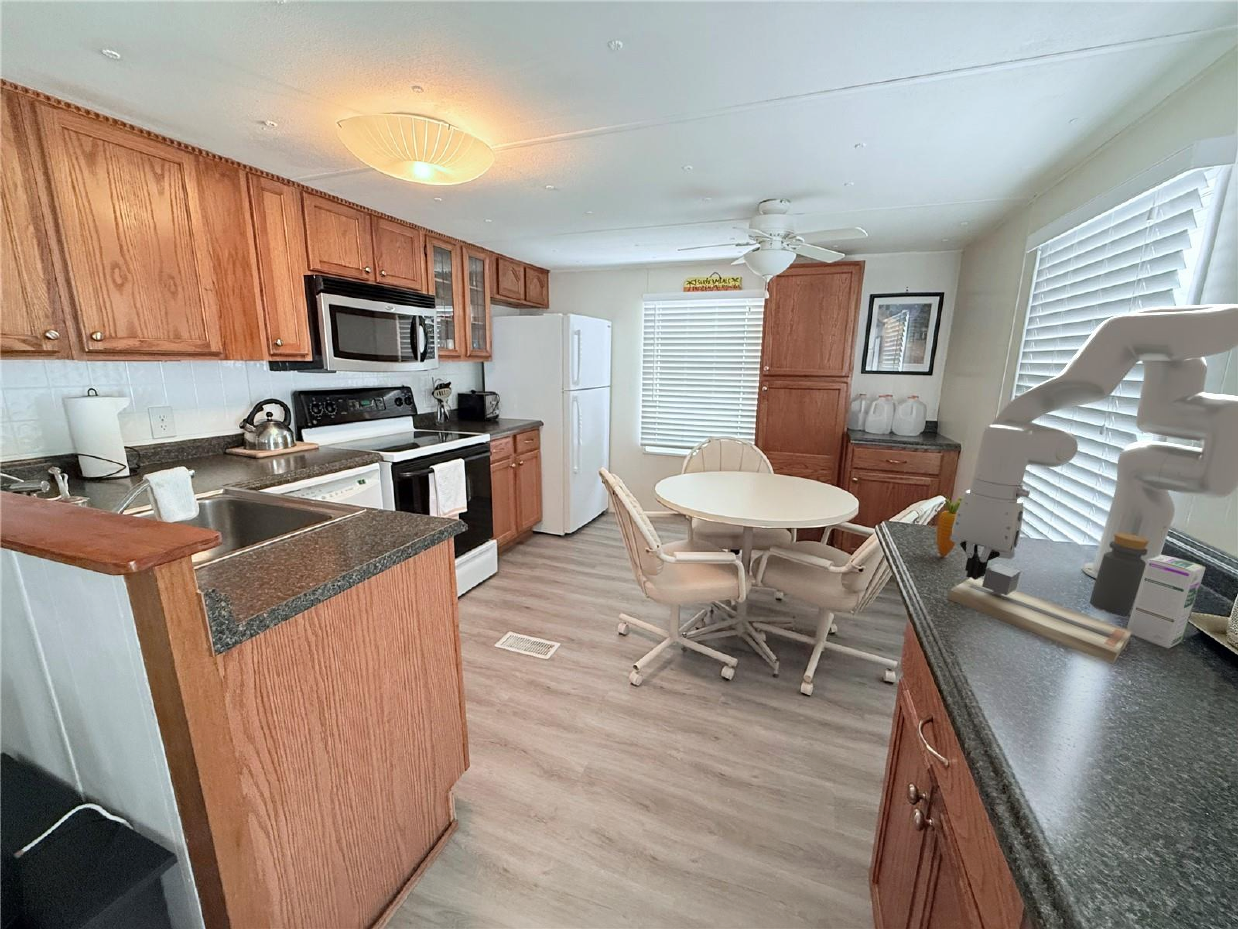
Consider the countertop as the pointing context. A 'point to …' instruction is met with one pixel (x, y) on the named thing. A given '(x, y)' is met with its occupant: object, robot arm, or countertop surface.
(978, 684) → the countertop surface
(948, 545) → the carrot
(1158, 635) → the syrup box
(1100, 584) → the bottle
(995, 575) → the fader knob
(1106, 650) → the fader board
